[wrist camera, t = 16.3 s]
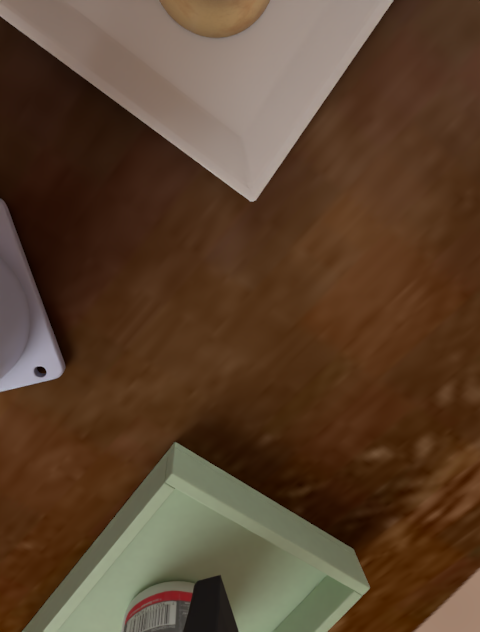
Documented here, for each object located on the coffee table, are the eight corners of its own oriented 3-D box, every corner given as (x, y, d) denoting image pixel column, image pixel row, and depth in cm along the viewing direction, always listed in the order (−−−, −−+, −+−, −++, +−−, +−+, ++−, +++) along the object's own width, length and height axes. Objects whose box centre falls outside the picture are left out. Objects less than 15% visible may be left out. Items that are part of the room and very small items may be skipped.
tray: (174, 735, 27) (172, 788, 25) (-5, 664, 24) (-27, 715, 22) (353, 548, 24) (371, 588, 22) (175, 441, 21) (172, 473, 19)
